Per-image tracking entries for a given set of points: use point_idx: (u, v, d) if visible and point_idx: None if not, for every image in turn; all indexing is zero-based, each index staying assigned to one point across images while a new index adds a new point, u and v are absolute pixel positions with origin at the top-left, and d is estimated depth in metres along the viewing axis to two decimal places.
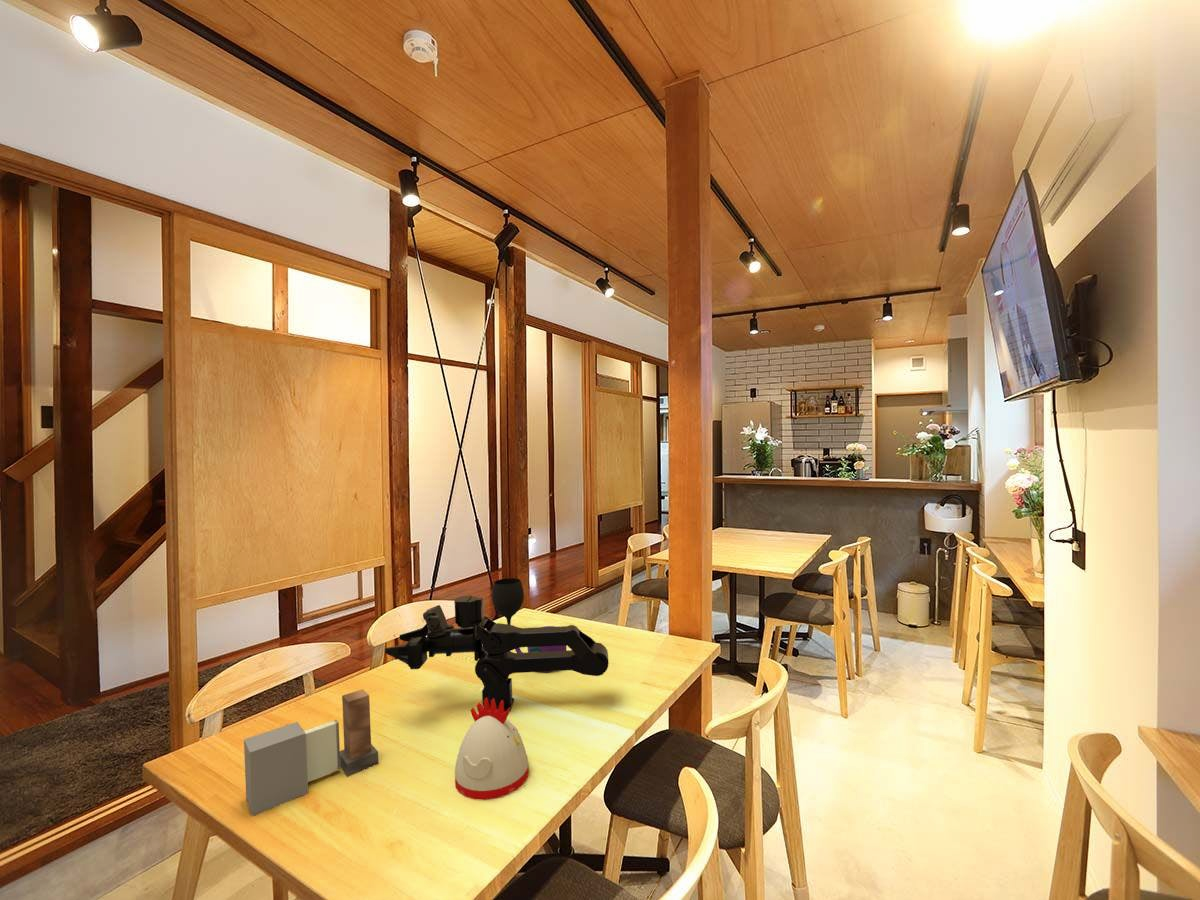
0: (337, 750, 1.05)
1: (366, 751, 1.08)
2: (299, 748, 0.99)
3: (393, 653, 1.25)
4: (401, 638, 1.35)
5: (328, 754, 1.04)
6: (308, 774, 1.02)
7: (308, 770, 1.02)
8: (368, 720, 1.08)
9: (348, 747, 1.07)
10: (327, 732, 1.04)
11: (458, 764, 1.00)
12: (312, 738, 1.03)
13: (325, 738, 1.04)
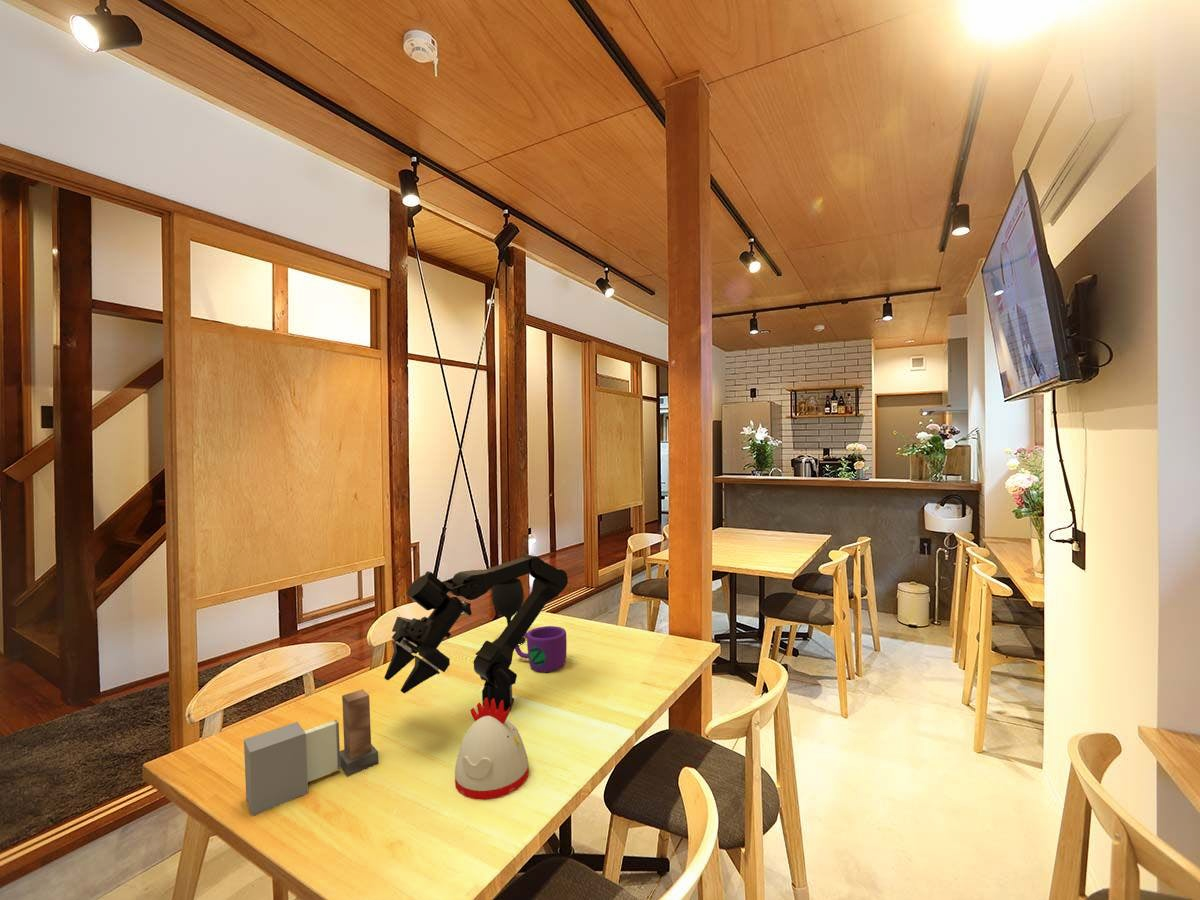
0: (337, 750, 1.05)
1: (366, 751, 1.08)
2: (299, 748, 0.99)
3: (412, 684, 1.11)
4: (388, 678, 1.18)
5: (328, 754, 1.04)
6: (308, 774, 1.02)
7: (308, 770, 1.02)
8: (368, 720, 1.08)
9: (348, 747, 1.07)
10: (327, 732, 1.04)
11: (458, 764, 1.00)
12: (312, 738, 1.03)
13: (325, 738, 1.04)
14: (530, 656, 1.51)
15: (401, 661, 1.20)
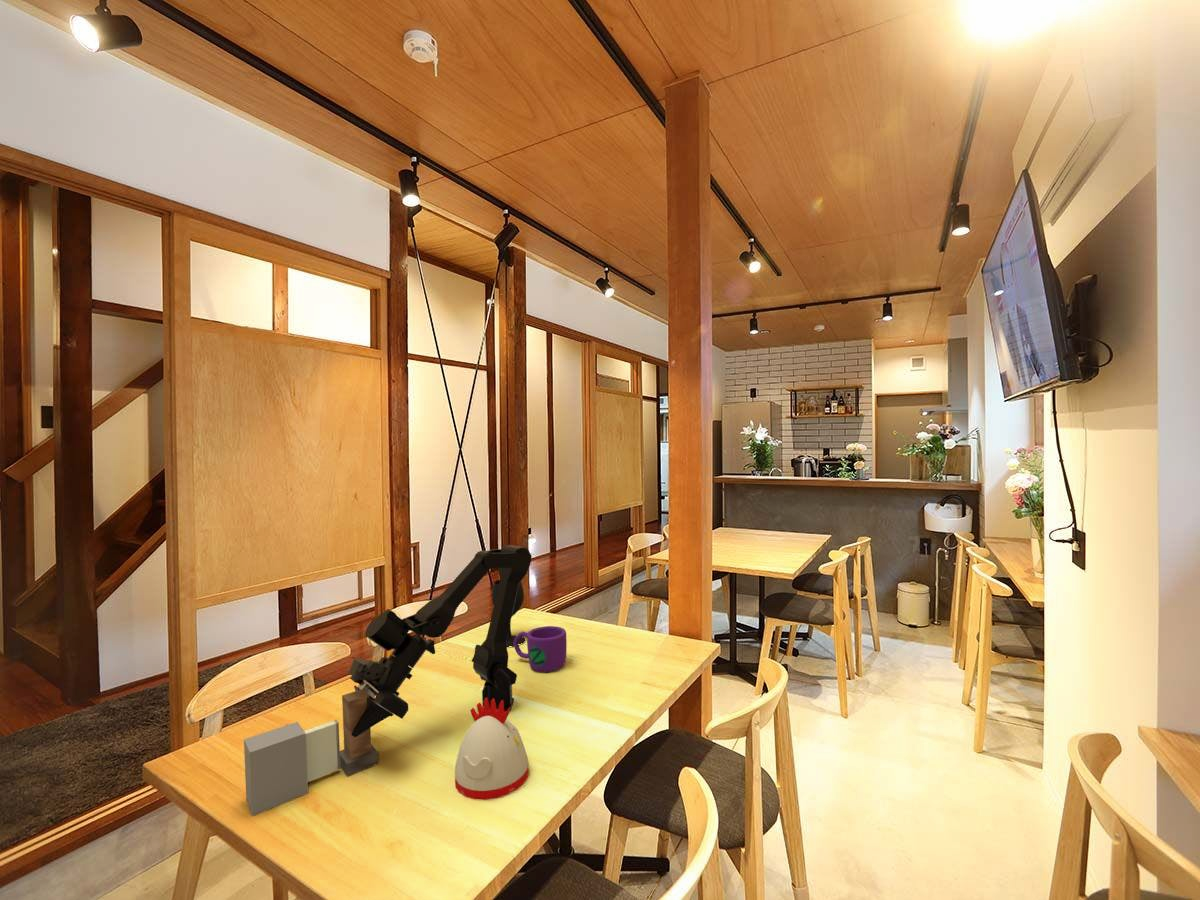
0: (337, 750, 1.05)
1: (366, 751, 1.08)
2: (299, 748, 0.99)
3: (364, 727, 1.07)
4: None
5: (328, 754, 1.04)
6: (308, 774, 1.02)
7: (308, 770, 1.02)
8: None
9: (348, 747, 1.07)
10: (327, 732, 1.04)
11: (458, 764, 1.00)
12: (312, 738, 1.03)
13: (325, 738, 1.04)
14: (530, 656, 1.51)
15: None
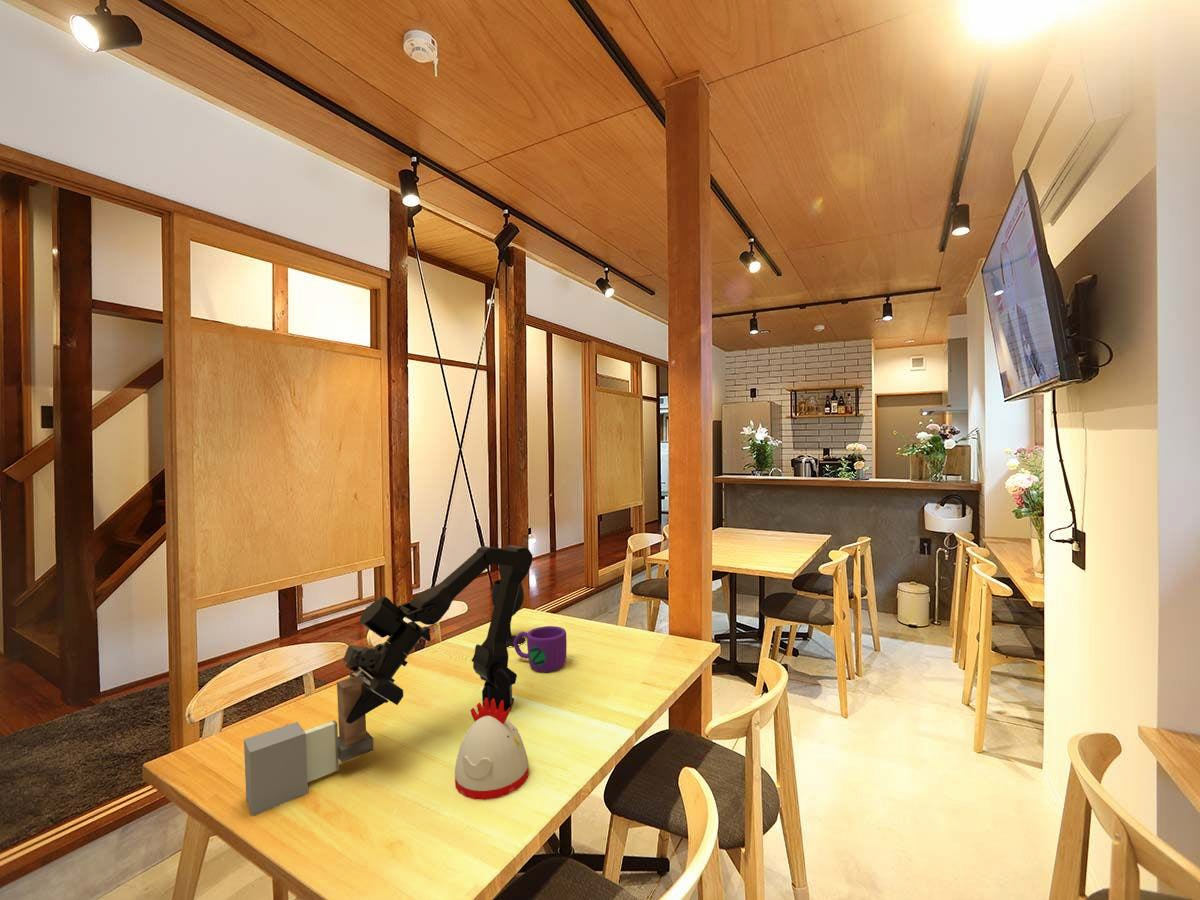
0: (336, 751, 1.05)
1: (361, 738, 1.07)
2: (299, 748, 0.99)
3: (359, 714, 1.06)
4: None
5: (326, 754, 1.04)
6: (307, 775, 1.02)
7: (307, 771, 1.02)
8: None
9: (343, 734, 1.06)
10: (326, 733, 1.04)
11: (458, 764, 1.00)
12: (311, 739, 1.02)
13: (324, 739, 1.04)
14: (530, 656, 1.51)
15: None
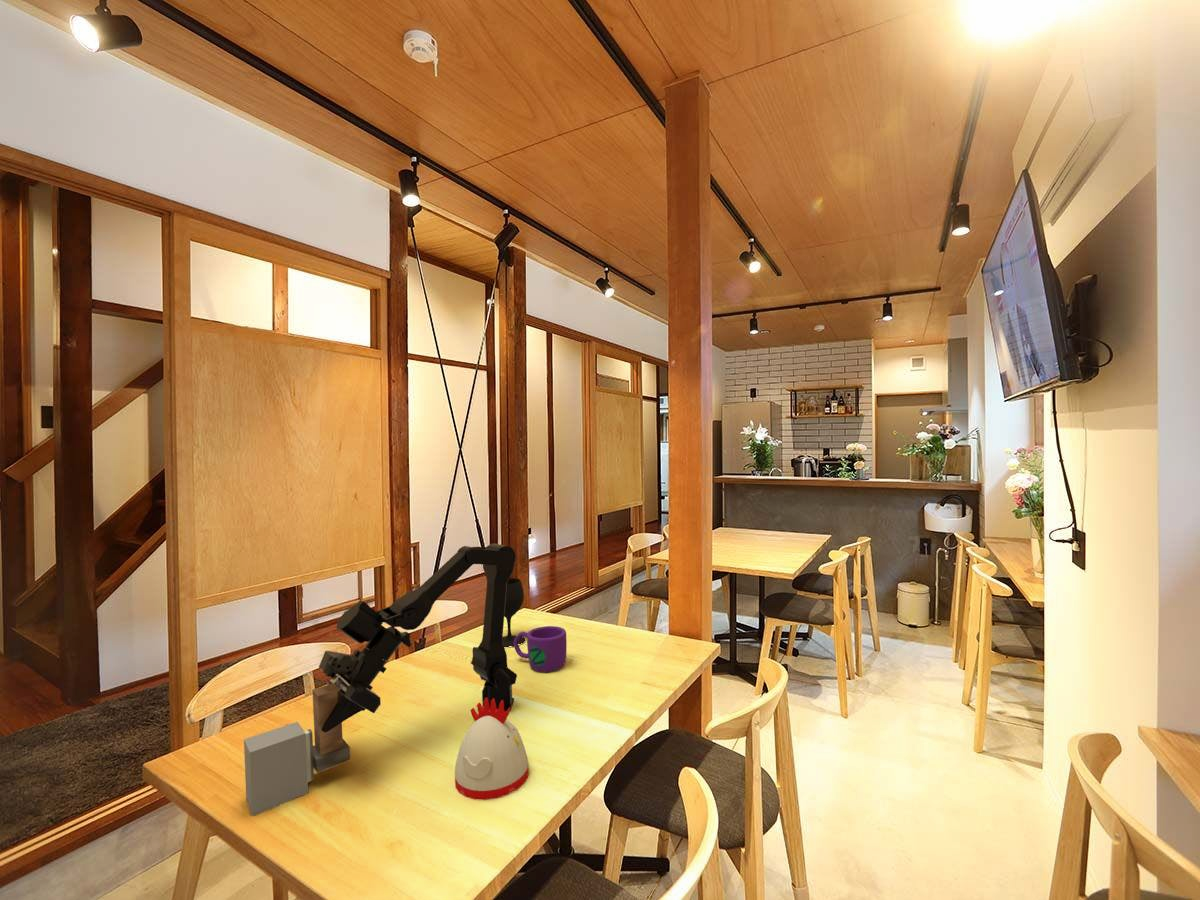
0: (311, 760, 1.02)
1: (337, 747, 1.04)
2: (299, 748, 0.99)
3: (334, 722, 1.03)
4: None
5: None
6: None
7: None
8: None
9: (318, 743, 1.03)
10: None
11: (458, 764, 1.00)
12: None
13: None
14: (530, 656, 1.51)
15: None
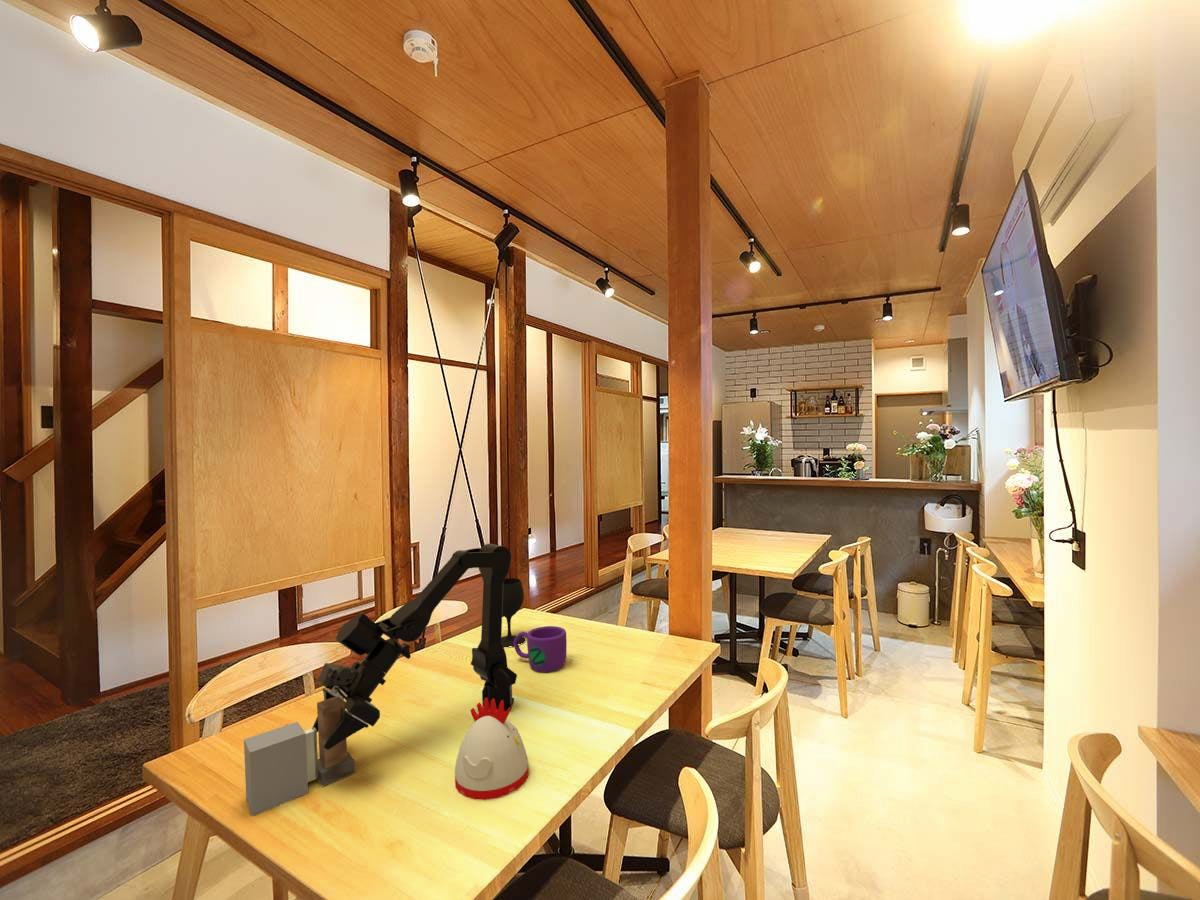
0: (315, 758, 1.03)
1: (342, 760, 1.05)
2: (299, 748, 0.99)
3: (337, 739, 1.01)
4: None
5: None
6: None
7: None
8: None
9: (323, 756, 1.04)
10: None
11: (458, 764, 1.00)
12: None
13: None
14: (530, 656, 1.51)
15: None
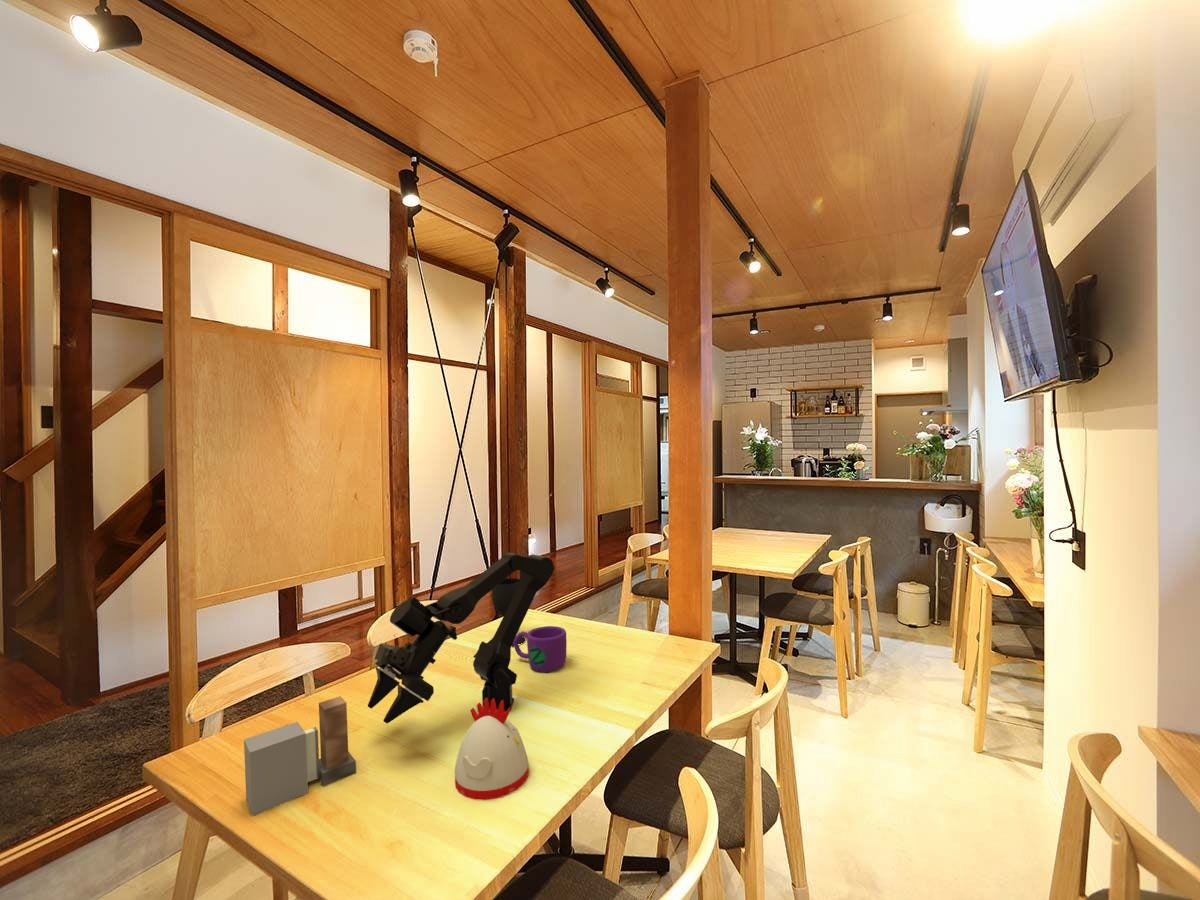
0: (316, 758, 1.03)
1: (343, 760, 1.05)
2: (299, 748, 0.99)
3: (395, 714, 1.09)
4: (372, 706, 1.15)
5: None
6: None
7: None
8: (345, 728, 1.05)
9: (324, 756, 1.04)
10: (306, 740, 1.02)
11: (458, 764, 1.00)
12: None
13: None
14: (530, 656, 1.51)
15: (385, 688, 1.17)
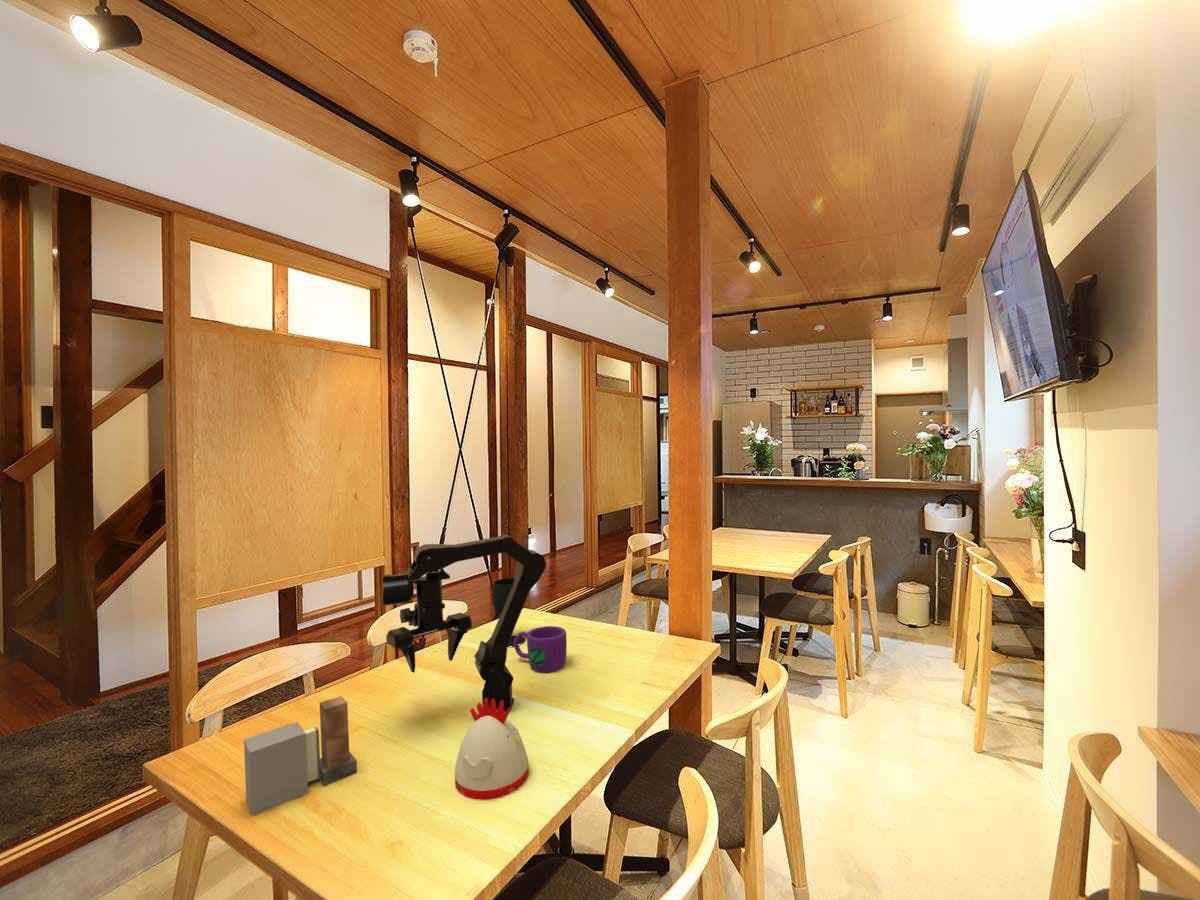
0: (317, 758, 1.03)
1: (344, 760, 1.05)
2: (299, 748, 0.99)
3: (409, 664, 1.21)
4: (450, 658, 1.27)
5: (307, 761, 1.02)
6: None
7: None
8: (346, 728, 1.05)
9: (325, 756, 1.04)
10: (307, 740, 1.02)
11: (458, 764, 1.00)
12: None
13: None
14: (530, 656, 1.51)
15: (451, 641, 1.28)
